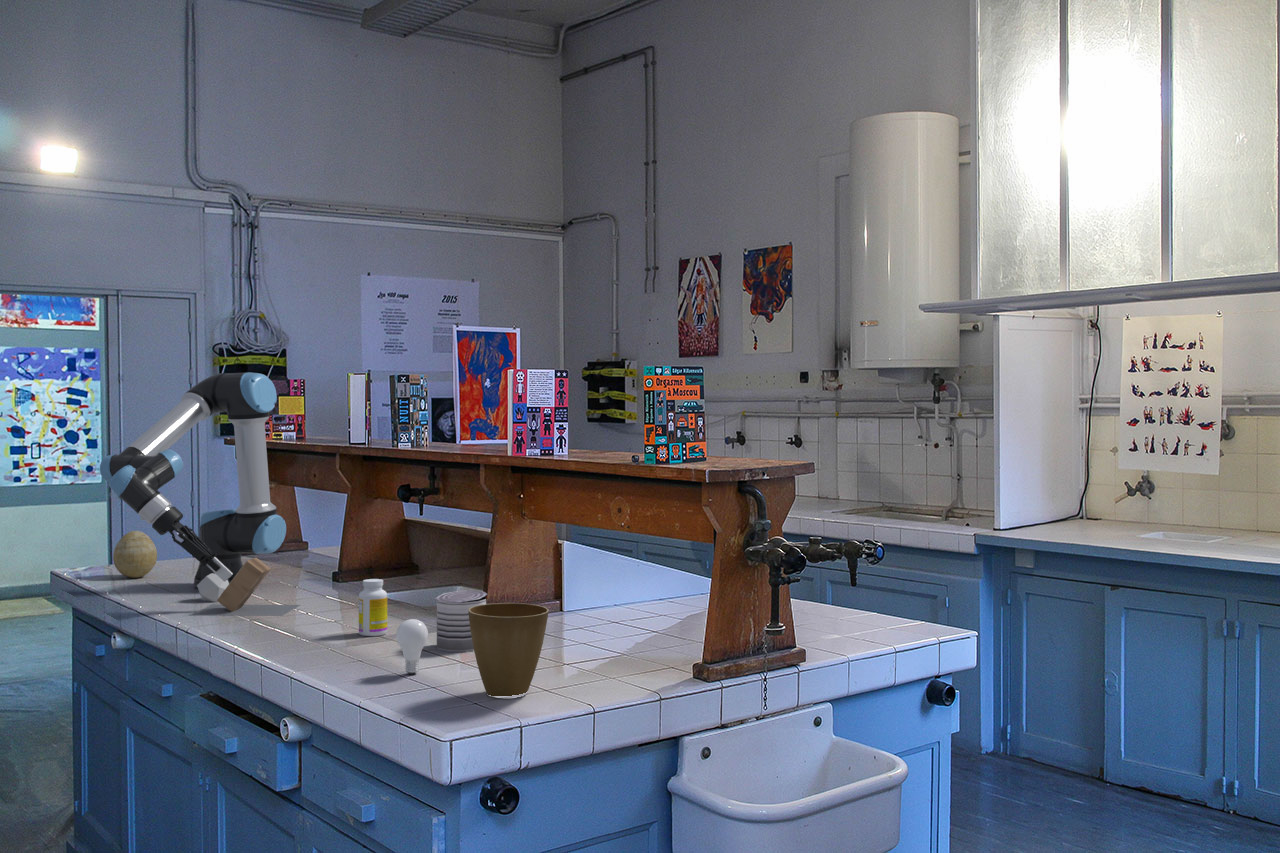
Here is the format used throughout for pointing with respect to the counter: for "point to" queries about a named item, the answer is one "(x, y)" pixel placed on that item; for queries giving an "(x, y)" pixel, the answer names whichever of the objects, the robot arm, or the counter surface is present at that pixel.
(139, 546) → the fossilized egg
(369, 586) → the supplement bottle
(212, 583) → the die
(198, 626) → the counter surface
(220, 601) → the label block
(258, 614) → the mat
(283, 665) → the counter surface
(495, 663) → the plant pot
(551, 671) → the counter surface
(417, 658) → the lightbulb
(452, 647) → the can
